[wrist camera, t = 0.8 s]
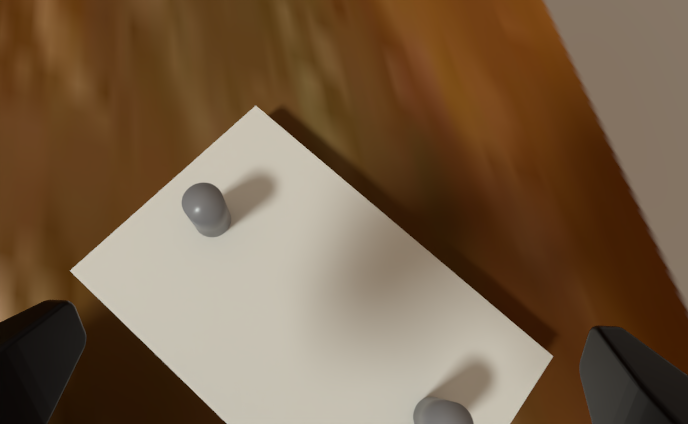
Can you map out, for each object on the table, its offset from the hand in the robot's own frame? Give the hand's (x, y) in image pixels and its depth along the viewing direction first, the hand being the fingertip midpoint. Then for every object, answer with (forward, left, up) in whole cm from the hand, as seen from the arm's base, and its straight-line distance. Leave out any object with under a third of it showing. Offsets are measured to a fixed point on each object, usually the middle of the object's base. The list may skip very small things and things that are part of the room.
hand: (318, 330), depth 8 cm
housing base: (+1, 0, -13) cm, 13 cm away
